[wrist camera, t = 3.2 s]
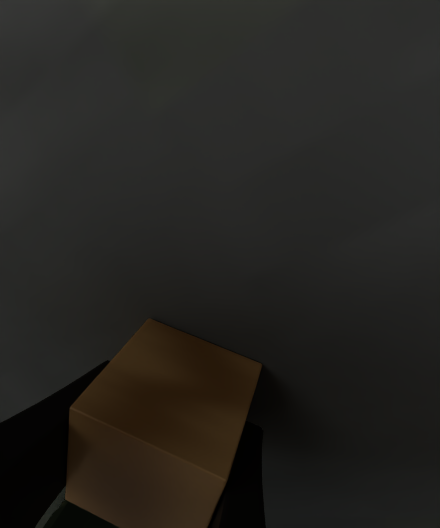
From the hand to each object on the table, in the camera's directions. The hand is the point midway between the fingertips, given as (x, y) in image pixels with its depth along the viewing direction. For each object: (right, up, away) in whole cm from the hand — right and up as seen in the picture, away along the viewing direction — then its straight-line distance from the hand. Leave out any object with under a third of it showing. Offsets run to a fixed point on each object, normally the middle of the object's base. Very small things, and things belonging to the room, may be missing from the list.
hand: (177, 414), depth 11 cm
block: (0, +1, +1) cm, 1 cm away
